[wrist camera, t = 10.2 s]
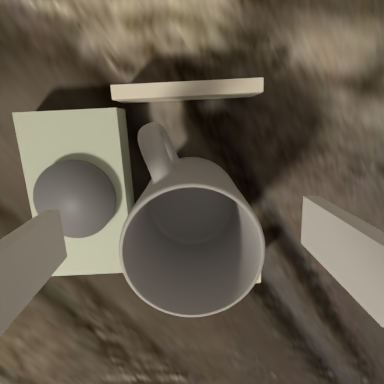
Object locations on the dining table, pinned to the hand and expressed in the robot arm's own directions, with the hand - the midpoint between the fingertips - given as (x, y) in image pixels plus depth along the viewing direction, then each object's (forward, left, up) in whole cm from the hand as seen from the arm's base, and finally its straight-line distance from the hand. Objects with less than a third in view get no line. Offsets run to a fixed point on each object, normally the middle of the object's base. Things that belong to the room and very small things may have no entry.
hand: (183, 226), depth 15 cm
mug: (0, 0, -11) cm, 11 cm away
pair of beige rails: (-4, 0, -11) cm, 12 cm away
